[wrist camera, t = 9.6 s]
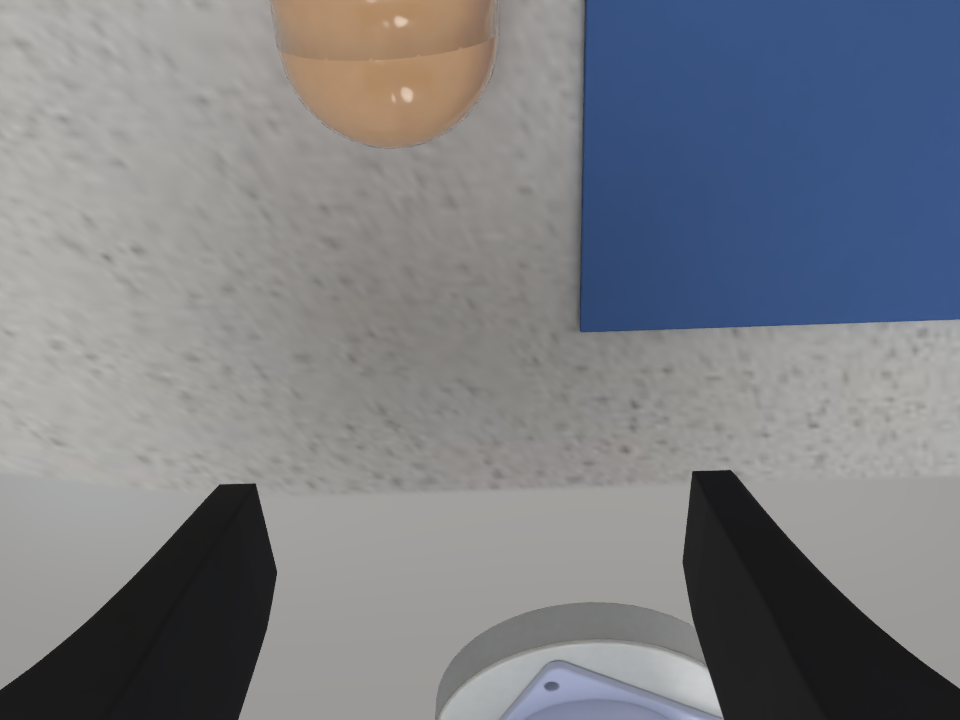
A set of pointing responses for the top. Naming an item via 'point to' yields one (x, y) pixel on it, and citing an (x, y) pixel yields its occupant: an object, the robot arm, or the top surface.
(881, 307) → the cloth
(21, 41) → the top surface
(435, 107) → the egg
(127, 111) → the top surface
